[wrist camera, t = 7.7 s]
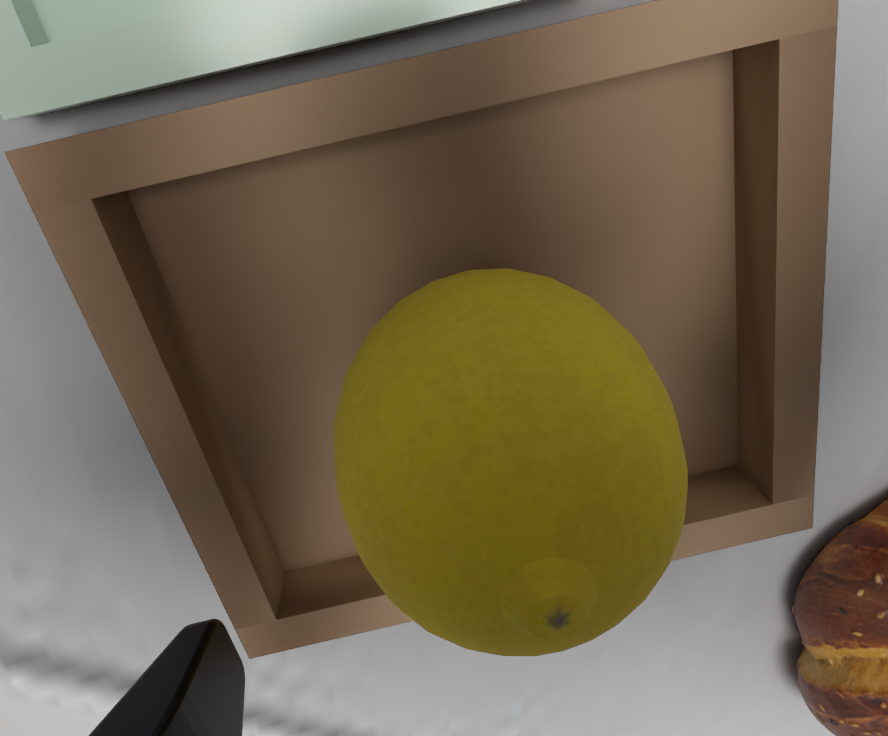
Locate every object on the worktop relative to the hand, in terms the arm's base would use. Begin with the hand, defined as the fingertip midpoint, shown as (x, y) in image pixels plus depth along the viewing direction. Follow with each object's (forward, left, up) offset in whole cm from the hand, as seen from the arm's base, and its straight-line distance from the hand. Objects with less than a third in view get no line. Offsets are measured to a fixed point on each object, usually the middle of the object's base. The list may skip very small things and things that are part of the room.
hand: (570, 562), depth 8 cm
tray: (0, 0, -8) cm, 8 cm away
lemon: (0, 0, -7) cm, 7 cm away
